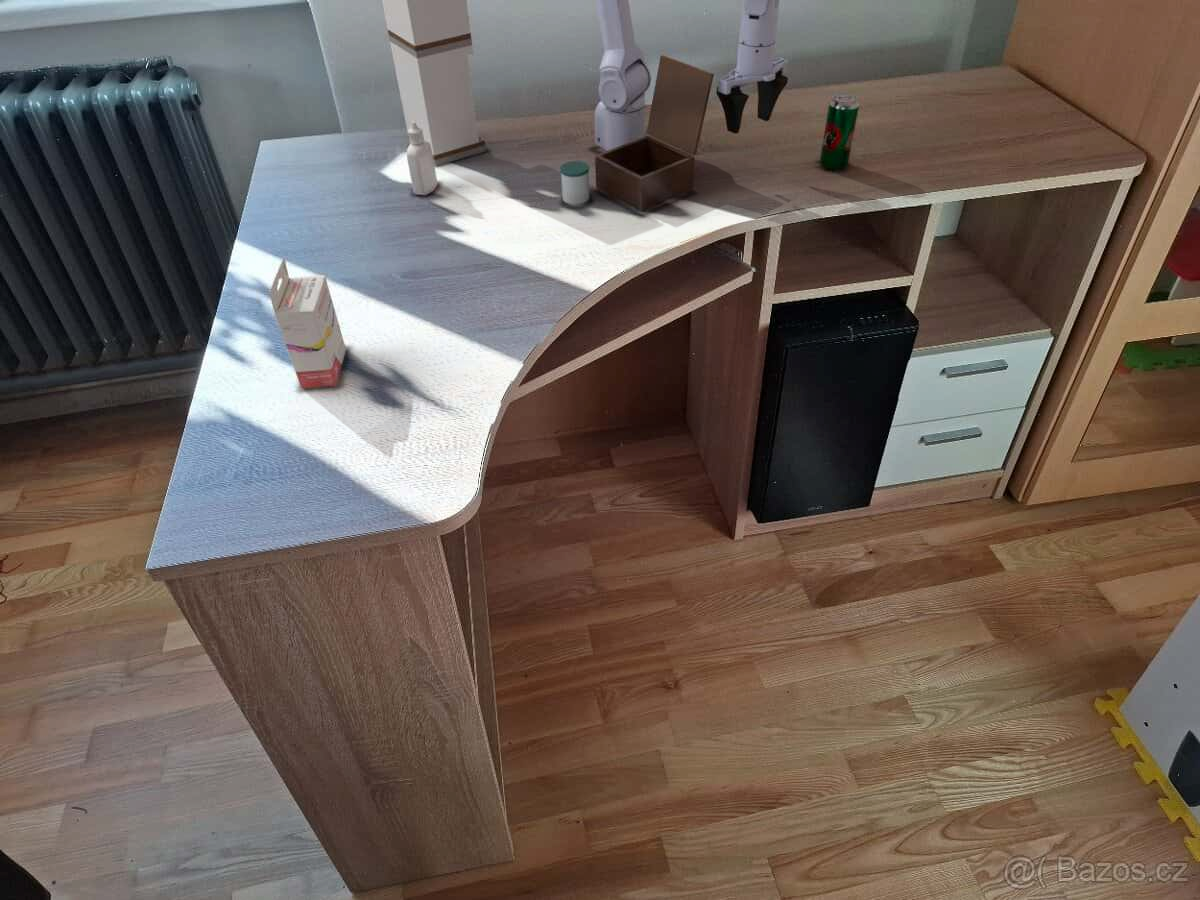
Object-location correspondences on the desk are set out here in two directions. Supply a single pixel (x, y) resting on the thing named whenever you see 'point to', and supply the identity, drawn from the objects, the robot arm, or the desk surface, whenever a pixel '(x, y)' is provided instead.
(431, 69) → the brown banded pillar
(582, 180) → the container
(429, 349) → the desk surface
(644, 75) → the robot arm
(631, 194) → the box
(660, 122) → the box lid
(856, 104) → the soda can
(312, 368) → the ink cartridge box
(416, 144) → the eye dropper bottle
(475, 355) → the desk surface
